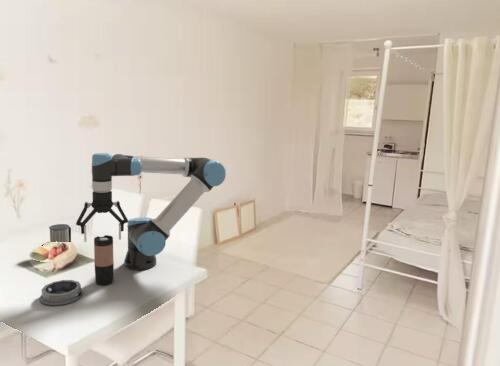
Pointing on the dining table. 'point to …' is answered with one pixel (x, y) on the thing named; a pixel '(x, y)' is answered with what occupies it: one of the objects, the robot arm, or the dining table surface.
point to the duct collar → (61, 293)
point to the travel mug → (103, 260)
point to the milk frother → (60, 233)
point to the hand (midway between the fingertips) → (102, 239)
